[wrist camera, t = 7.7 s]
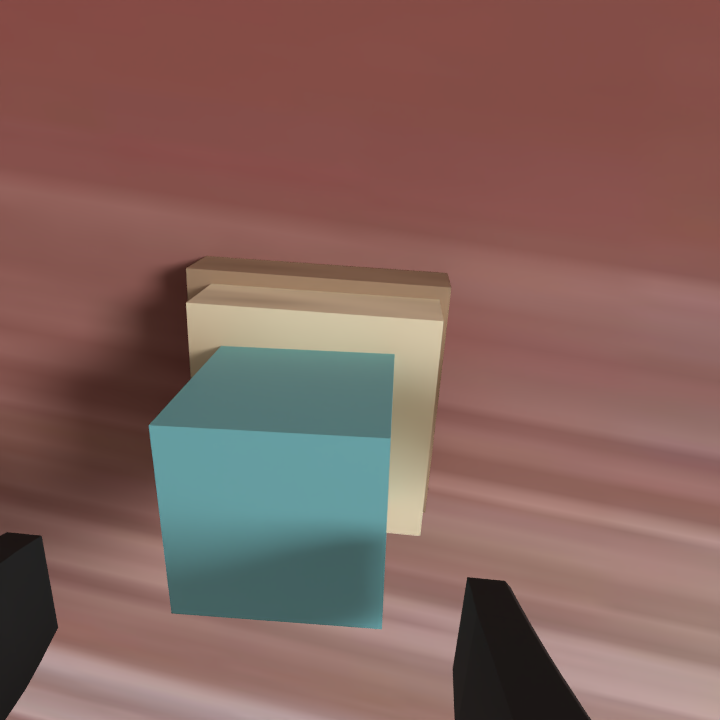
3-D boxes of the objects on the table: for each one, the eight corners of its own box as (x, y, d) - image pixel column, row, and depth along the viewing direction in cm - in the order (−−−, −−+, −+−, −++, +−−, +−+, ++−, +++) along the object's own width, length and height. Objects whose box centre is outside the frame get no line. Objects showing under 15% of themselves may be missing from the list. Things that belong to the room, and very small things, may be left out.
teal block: (387, 503, 16) (381, 629, 12) (231, 493, 16) (171, 613, 12) (394, 353, 15) (390, 438, 10) (220, 345, 15) (148, 425, 11)
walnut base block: (423, 470, 21) (425, 512, 19) (221, 452, 21) (198, 491, 19) (445, 268, 18) (451, 287, 16) (213, 251, 19) (185, 268, 16)
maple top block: (418, 495, 18) (420, 535, 17) (220, 477, 19) (199, 515, 17) (439, 299, 16) (443, 321, 14) (211, 283, 16) (186, 302, 14)
